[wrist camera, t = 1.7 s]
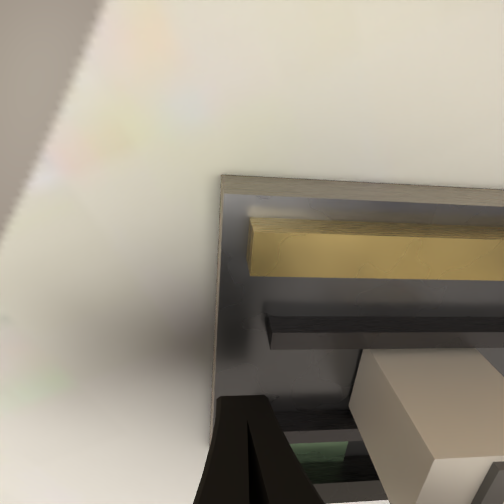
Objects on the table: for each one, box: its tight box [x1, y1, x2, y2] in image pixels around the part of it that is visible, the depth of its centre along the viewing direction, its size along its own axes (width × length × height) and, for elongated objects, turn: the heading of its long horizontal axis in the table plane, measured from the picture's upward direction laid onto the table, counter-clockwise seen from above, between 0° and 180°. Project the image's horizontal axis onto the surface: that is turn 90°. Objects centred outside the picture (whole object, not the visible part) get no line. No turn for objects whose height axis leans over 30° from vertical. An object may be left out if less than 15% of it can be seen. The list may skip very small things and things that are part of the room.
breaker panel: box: [209, 175, 504, 504], centre depth 13 cm, size 13×12×3 cm
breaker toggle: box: [348, 348, 504, 504], centre depth 11 cm, size 4×3×4 cm
